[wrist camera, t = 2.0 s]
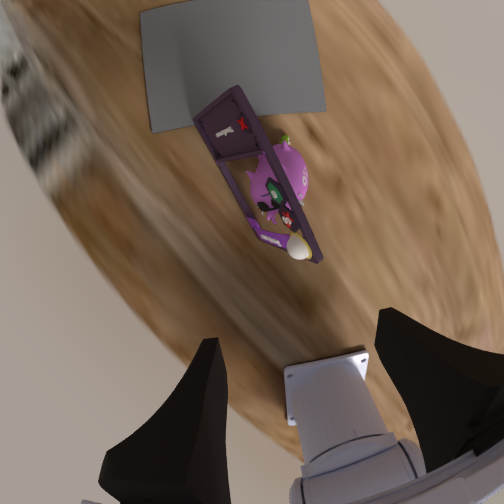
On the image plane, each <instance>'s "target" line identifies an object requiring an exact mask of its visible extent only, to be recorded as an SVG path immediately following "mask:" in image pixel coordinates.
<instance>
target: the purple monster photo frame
mask: <svg viewBox="0 0 504 504" xmlns="http://www.w3.org/2000/svg"><path fill="white" fill-rule="evenodd" d="M193 122H194V124H195V125H196V127H197V129H198V131H199V133H200V134H201V136H202V138H203V140H204V142H205V143H206V145H207V147H208V149H209V151H210V152H211V154H212V156H213V158H214V160H215V161H216V163H217V165H218V167H219V169H220V170H221V172H222V174H223V176H224V178H225V179H226V181H227V183H228V185H229V187H230V189H231V190H232V192H233V194H234V196H235V198H236V199H237V201H238V203H239V205H240V207H241V209H242V210H243V212H244V214H245V216H246V219H247V220H248V221H249V223H250V227H252V229H253V231H254V232H255V234H256V236H257V238H258V239H259V240H260V241H263V242H265V243H268V244H270V245H273V246H275V247H277V248H280V249H282V250H285V251H287V252H288V253H289V255H290V256H291V257H293V258H295V259H299V260H301V259H306V260H309V261H311V262H313V263H316V264H318V263H319V262H320V261H322V260H323V255H322V253H321V251H320V248H319V246H318V244H317V241H316V239H315V237H314V234H313V232H312V230H311V227H310V225H309V223H308V221H307V219H306V216H305V214H304V212H303V210H302V207H301V205H300V204H302V205H303V206H304V203H303V201H302V199H303V198H304V196H305V194H306V191H307V187H308V172H307V167H306V164H305V162H304V160H303V158H302V156H301V155H300V153H299V152H298V151H297V150H296V149H294V148H293V147H291V146H289V145H290V144H289V143H291V142H288V140H289V137H288V136H287V135H283V136H282V138H281V140H280V143H279V144H276V145H273V146H272V145H271V143H270V141H269V139H268V137H267V135H266V133H265V131H264V129H263V127H262V125H261V123H260V121H259V120H258V118H257V116H256V114H255V112H254V110H253V108H252V106H251V104H250V103H249V101H248V99H247V97H246V95H245V93H244V92H243V90H242V88H241V87H240V86H239V85H235V86H233V87H231V88H229V89H227V90H226V91H225V92H224V93H222V94H221V95H220V96H219V97H218V98H216V99H215V100H214V101H213V102H211V103H210V104H209V105H208V106H207V107H206V108H204V109H203V110H202V111H201V112H200V113H199V114H197V115H196V116H195V117H194V118H193ZM288 144H289V145H288ZM254 156H257V157H258V159H259V164H258V166H257V169H256V171H255V173H252V172H250V171H246V173H247V175H248V176H249V178H250V181H251V185H250V192H251V196H252V198H253V200H254V202H255V203H256V204H257V207H258V208H259V209H261V210H262V215H263V213H264V212H267V219H268V220H270V218H271V220H272V222H273V223H274V224H277V222H276V221H275V214H276V213H279V214H280V216H281V218H282V220H283V223H284V224H285V225H286V226H287V227H288V228H290V229H291V230H292V231H293V232H292V233H291V234H290V235H288V234H278V233H273V232H269V231H265V230H262V229H260V227H259V225H258V223H257V221H256V219H255V217H254V215H253V214H252V212H251V210H250V208H249V206H248V204H247V202H246V200H245V199H244V197H243V195H242V193H241V191H240V189H239V187H238V186H237V184H236V182H235V180H234V178H233V176H232V175H231V173H230V171H229V169H228V167H227V165H226V164H225V162H226V161H232V160H237V159H242V158H248V157H254ZM291 210H292V211H291ZM299 229H301V232H302V234H303V236H304V237H303V236H301V235H299V234H298V233H296V232H297V231H298V230H299Z"/></svg>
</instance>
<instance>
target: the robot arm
mask: <svg viewBox="0 0 504 504" xmlns="http://www.w3.org/2000/svg"><path fill="white" fill-rule="evenodd" d="M374 345H375V348H376V350H377V353H378V355H379V358H380V360H381V362H382V364H383V366H384V368H385V370H386V371H387V373H388V375H389V376H390V378H391V380H392V382H393V383H394V385H395V387H396V388H397V390H398V392H399V394H400V395H401V397H402V399H403V401H404V403H405V405H406V407H407V410H408V412H409V415H410V417H411V420H412V422H413V425H414V428H415V431H416V434H417V437H418V440H419V444H420V447H421V450H420V448H419V447H418V445H417V444H416V443H415V442H413V441H411V440H408V439H406V438H402V439H400V440H398V441H397V439H396V437H395V435H394V433H393V432H390V433H389V432H388V430H387V428H386V426H385V424H384V422H383V419H382V417H381V415H380V413H379V411H378V409H377V407H376V404H375V402H374V400H373V398H372V396H371V394H370V392H369V390H368V388H367V386H366V384H365V382H364V380H365V375H366V369H367V364H368V358H369V353H368V352H367V351H366V350H363V351H359V352H355V353H351V354H347V355H342V356H338V357H333V358H329V359H324V360H319V361H314V362H309V363H303V364H298V365H292V366H288V367H286V368H285V369H284V381H285V394H286V406H287V419H288V425H291V426H292V425H297V429H298V434H299V438H300V443H301V447H302V452H303V456H304V461H305V465H303V466H301V471H302V476H303V477H300V478H296V479H295V481H294V483H293V485H292V486H291V488H290V492H289V500H290V504H481V503H482V502H484V501H485V500H487V499H488V498H489V497H491V496H492V495H494V494H495V493H496V492H498V491H499V490H500V489H502V488H503V487H504V354H498V353H492V352H488V351H483V350H480V349H476V348H473V347H470V346H467V345H464V344H461V343H459V342H456V341H454V340H451V339H449V338H447V337H445V336H443V335H441V334H439V333H437V332H435V331H433V330H431V329H429V328H427V327H426V326H424V325H422V324H420V323H419V322H417V321H415V320H413V319H412V318H410V317H408V316H407V315H405V314H403V313H401V312H400V311H398V310H396V309H394V308H392V307H390V308H386V309H381V310H379V317H378V324H377V331H376V338H375V344H374ZM362 359H363V360H362ZM289 374H291V375H289ZM227 401H228V385H227V371H226V367H225V363H224V360H223V356H222V352H221V348H220V343H219V339H218V338H209V339H203V340H202V342H201V344H200V346H199V348H198V350H197V352H196V354H195V356H194V358H193V360H192V362H191V364H190V365H189V367H188V369H187V371H186V372H185V374H184V376H183V378H182V379H181V380H180V382H179V383H178V385H177V386H176V388H175V390H174V391H173V392H172V393H171V395H170V396H169V397H168V399H167V400H166V401H165V402H164V404H163V405H162V406H161V407H160V408H159V409H158V410H157V411H156V412H155V414H154V415H153V416H152V417H151V418H150V419H149V420H148V421H147V422H146V423H145V424H143V425H142V426H141V427H140V428H139V429H138V430H136V431H135V432H134V433H133V434H131V435H130V436H129V437H128V438H126V439H125V440H123V441H122V442H120V443H119V444H117V445H116V446H114V447H113V448H111V449H110V450H108V451H107V452H106V455H105V458H104V460H103V463H102V467H101V471H100V476H99V480H98V482H99V485H100V486H101V487H102V488H103V489H104V490H105V491H106V492H108V493H109V494H110V495H111V496H113V497H114V498H115V499H117V500H118V501H119V502H120V504H231V499H230V490H229V482H228V470H227V458H226V443H225V441H226V418H227ZM421 451H422V452H421ZM81 504H100V503H95V502H92V501H88V500H82V502H81Z"/></svg>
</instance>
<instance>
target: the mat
mask: <svg viewBox="0 0 504 504" xmlns="http://www.w3.org/2000/svg"><path fill="white" fill-rule="evenodd" d="M140 22H141V37H142V50H143V61H144V71H145V81H146V90H147V98H148V106H149V113H150V120H151V127H152V134H154V133H158V132H163V131H168V130H172V129H177V128H182V127H188V126H193V125H195V124H194V122H193V118H194V117H195V116H196V115H197V114H199V113H200V112H201V111H202V110H203V109H204V108H206V107H207V106H208V105H209V104H210V103H211V102H213V101H214V100H215V99H216V98H218V97H219V96H220V95H221V94H222V93H224V92H225V91H226V90H227V89H229V88H231V87H233V86H235V85H239V86H240V87H241V88H242V90H243V92H244V93H245V95H246V97H247V99H248V101H249V103H250V104H251V106H252V108H253V110H254V112H255V114H256V116H265V115H275V114H288V113H303V112H325V111H326V103H325V95H324V88H323V81H322V74H321V67H320V61H319V55H318V49H317V43H316V37H315V32H314V27H313V22H312V17H311V12H310V7H309V3H308V0H192V1H187V2H182V3H177V4H172V5H167V6H163V7H159V8H155V9H151V10H147V11H144V12H140Z"/></svg>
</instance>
